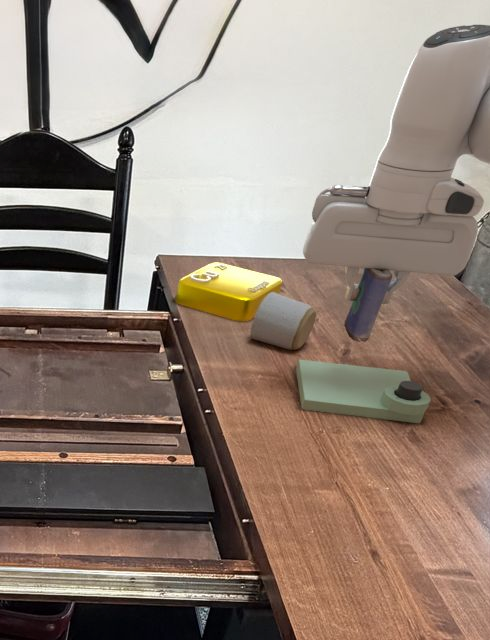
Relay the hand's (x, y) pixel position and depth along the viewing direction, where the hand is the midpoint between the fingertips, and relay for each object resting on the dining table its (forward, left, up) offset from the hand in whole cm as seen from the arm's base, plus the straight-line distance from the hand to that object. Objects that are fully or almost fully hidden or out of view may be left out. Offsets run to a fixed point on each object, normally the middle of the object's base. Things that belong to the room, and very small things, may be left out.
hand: (366, 301), depth 99 cm
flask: (0, 0, -4) cm, 4 cm away
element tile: (+17, -32, -13) cm, 38 cm away
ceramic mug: (+8, -16, -13) cm, 22 cm away
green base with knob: (-2, +2, -13) cm, 14 cm away
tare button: (-8, +7, -10) cm, 15 cm away
